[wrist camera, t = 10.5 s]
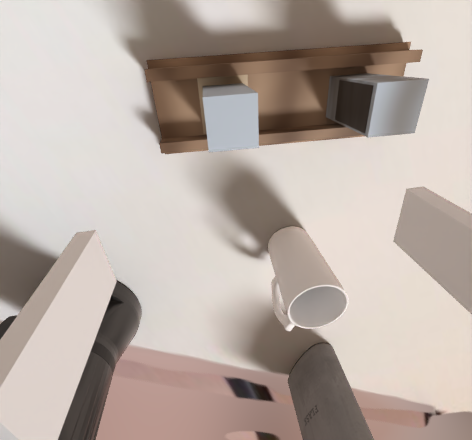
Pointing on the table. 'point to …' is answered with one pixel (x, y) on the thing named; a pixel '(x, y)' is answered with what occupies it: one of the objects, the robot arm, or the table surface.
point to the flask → (325, 398)
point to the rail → (294, 93)
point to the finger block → (231, 117)
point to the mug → (303, 282)
